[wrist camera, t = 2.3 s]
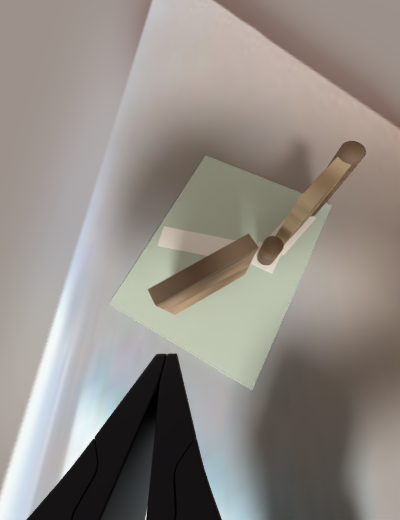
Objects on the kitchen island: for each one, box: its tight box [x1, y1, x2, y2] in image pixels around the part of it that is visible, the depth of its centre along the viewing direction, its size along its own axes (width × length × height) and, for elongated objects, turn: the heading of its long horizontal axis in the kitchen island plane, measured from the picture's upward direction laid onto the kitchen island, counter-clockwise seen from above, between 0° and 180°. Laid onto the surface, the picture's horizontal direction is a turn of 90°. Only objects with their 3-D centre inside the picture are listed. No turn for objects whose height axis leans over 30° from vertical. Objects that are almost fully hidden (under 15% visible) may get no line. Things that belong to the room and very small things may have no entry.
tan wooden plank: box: [148, 233, 259, 315], centre depth 19 cm, size 8×1×8 cm, turn 119°
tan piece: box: [257, 141, 366, 265], centre depth 21 cm, size 2×9×9 cm, turn 136°
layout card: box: [109, 155, 332, 390], centre depth 25 cm, size 16×21×1 cm
